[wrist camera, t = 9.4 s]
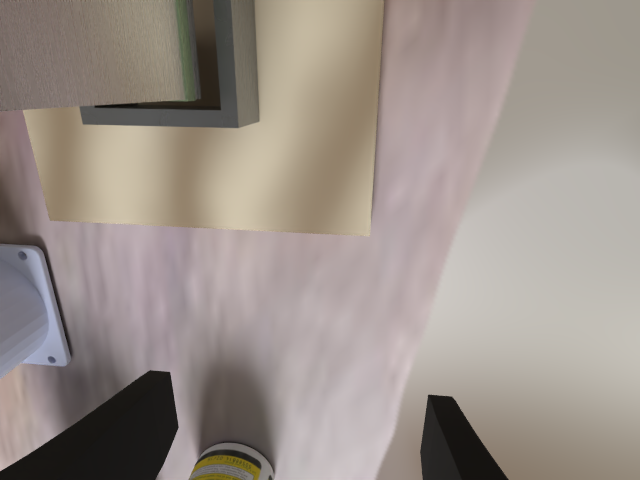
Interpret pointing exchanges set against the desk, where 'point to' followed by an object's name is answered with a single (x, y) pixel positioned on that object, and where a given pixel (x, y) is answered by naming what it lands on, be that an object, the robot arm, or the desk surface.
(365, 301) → the desk surface
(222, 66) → the sleeve
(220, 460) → the supplement bottle
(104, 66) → the column
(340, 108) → the stand base
